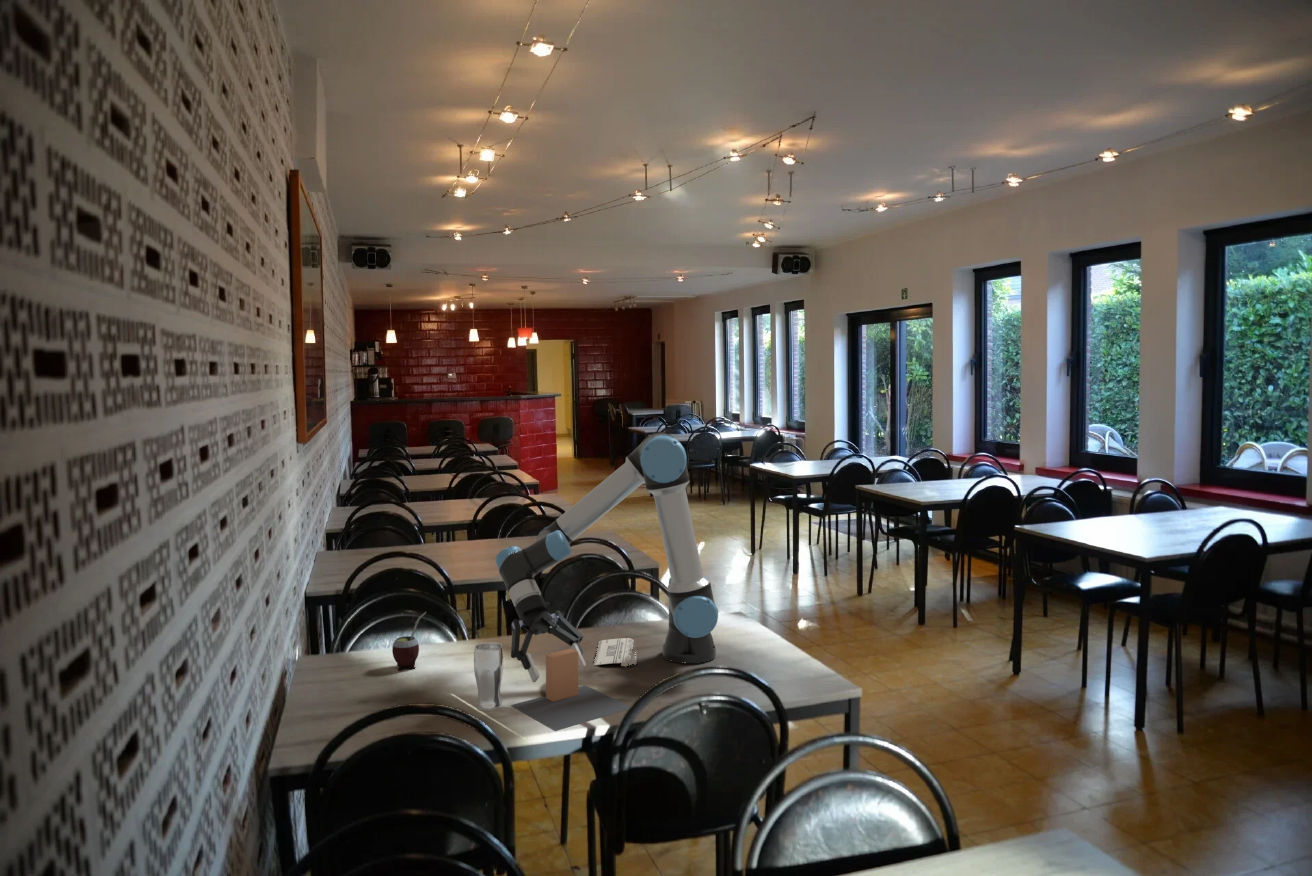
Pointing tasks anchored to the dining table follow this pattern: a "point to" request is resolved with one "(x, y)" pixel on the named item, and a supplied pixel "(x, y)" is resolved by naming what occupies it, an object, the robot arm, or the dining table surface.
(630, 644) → the newspaper
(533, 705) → the rubber mat
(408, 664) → the mate gourd
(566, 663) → the card deck box
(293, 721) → the dining table surface
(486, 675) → the beer glass
